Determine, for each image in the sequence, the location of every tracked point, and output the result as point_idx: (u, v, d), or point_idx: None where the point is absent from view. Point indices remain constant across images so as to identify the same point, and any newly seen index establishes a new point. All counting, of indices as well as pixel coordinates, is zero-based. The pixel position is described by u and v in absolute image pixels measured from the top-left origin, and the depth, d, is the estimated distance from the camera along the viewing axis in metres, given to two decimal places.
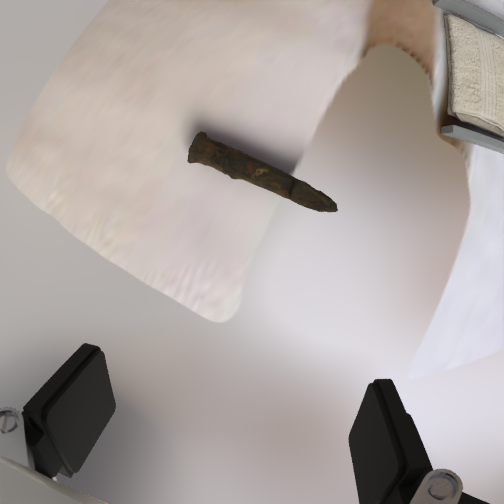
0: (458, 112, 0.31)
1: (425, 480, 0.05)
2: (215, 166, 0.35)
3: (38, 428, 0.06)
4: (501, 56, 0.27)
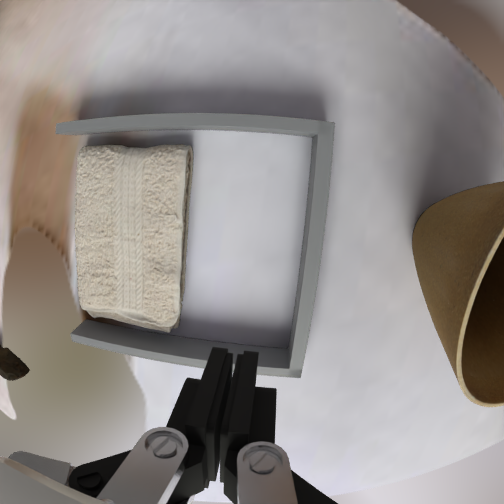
0: (86, 309, 0.29)
1: (245, 448, 0.06)
2: None
3: (197, 442, 0.07)
4: (162, 197, 0.25)
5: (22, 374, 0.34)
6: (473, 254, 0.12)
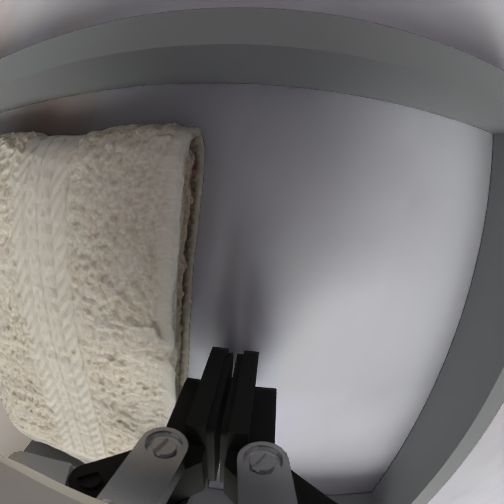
0: None
1: (245, 448, 0.06)
2: None
3: (197, 442, 0.07)
4: (117, 278, 0.09)
5: None
6: None
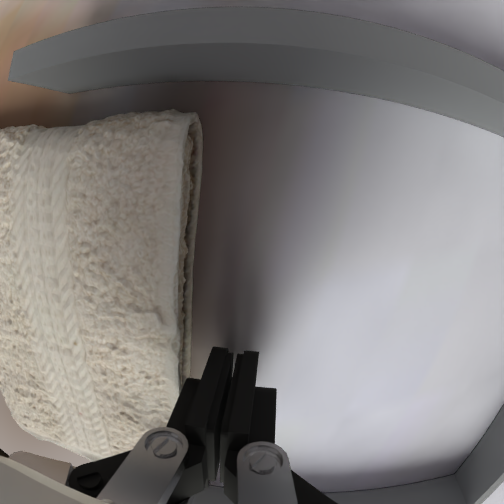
0: None
1: (245, 448, 0.06)
2: None
3: (197, 443, 0.07)
4: (118, 264, 0.09)
5: None
6: None
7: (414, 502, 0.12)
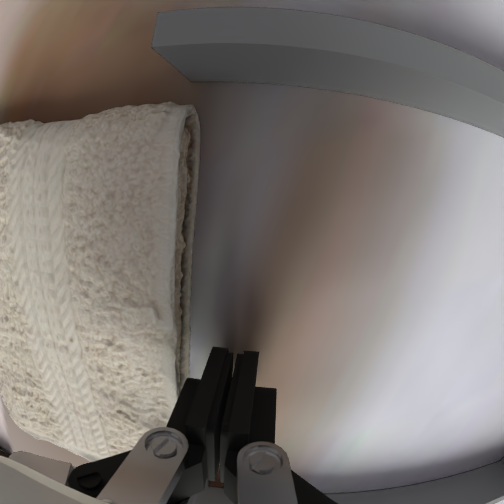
0: None
1: (245, 448, 0.06)
2: None
3: (197, 443, 0.07)
4: (114, 257, 0.08)
5: None
6: None
7: (472, 487, 0.12)
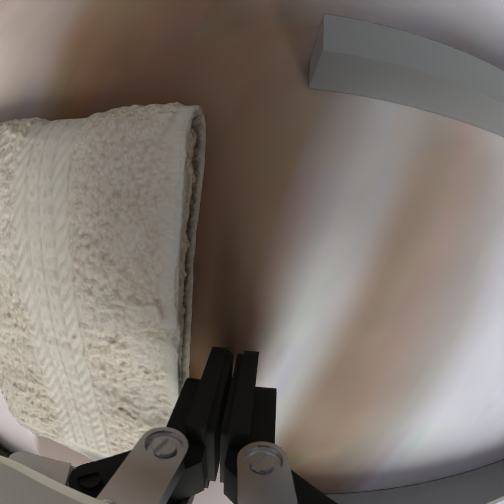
0: None
1: (245, 448, 0.06)
2: None
3: (197, 442, 0.07)
4: (119, 256, 0.08)
5: None
6: None
7: None
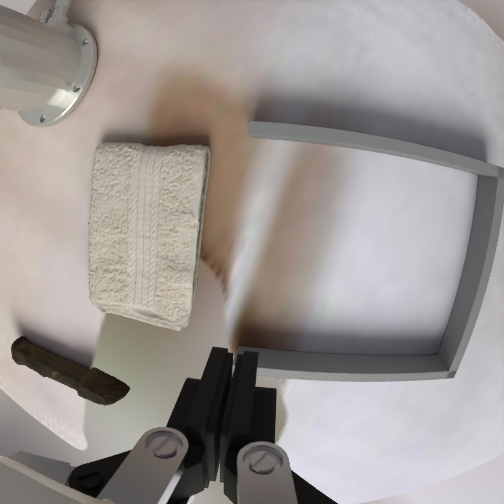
0: (96, 304, 0.30)
1: (245, 448, 0.06)
2: (32, 368, 0.33)
3: (197, 443, 0.07)
4: (179, 196, 0.26)
5: (123, 394, 0.33)
6: None
7: (413, 363, 0.29)
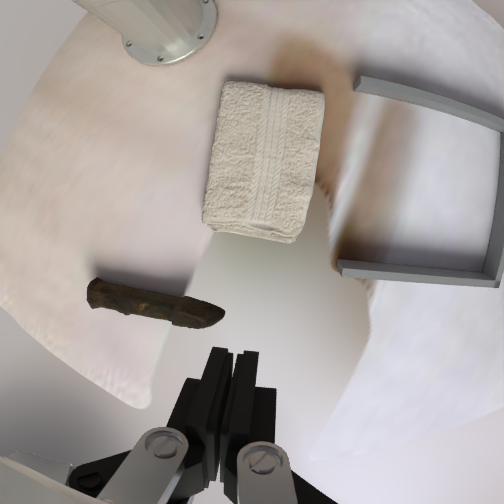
0: (208, 223, 0.35)
1: (245, 448, 0.06)
2: (111, 308, 0.38)
3: (197, 442, 0.07)
4: (305, 126, 0.31)
5: (221, 315, 0.38)
6: None
7: (468, 274, 0.34)
